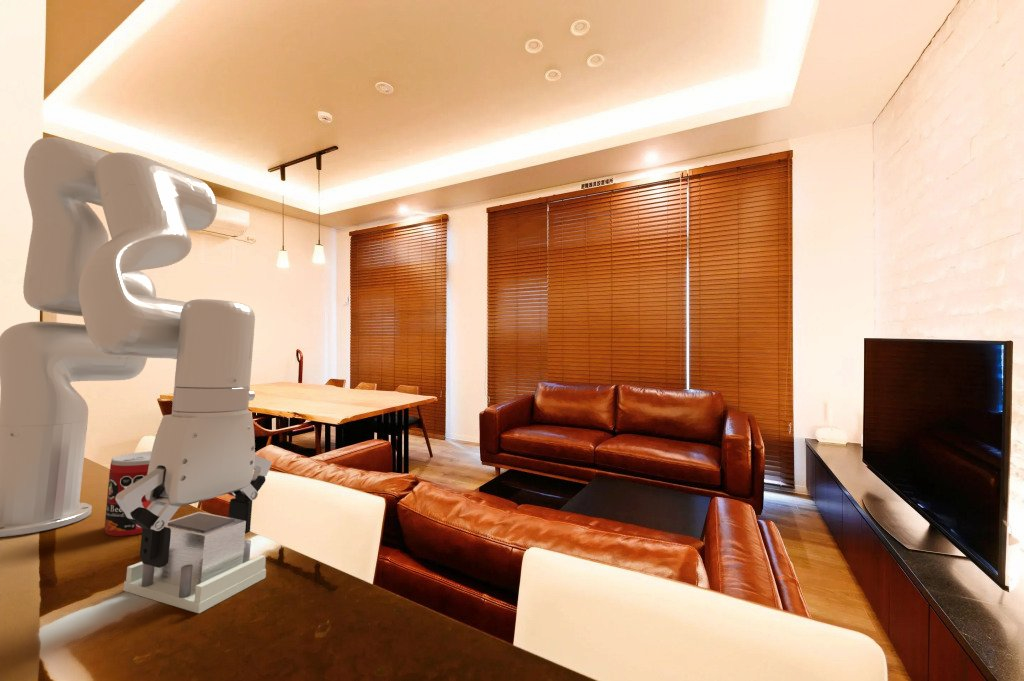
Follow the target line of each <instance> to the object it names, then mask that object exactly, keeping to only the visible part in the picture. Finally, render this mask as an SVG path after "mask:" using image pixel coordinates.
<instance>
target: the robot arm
mask: <svg viewBox="0 0 1024 681" xmlns="http://www.w3.org/2000/svg"><path fill="white" fill-rule="evenodd" d="M23 180H24V188H25V191H26V196H27V200H28V203H29V207H30V211H31V217H32V226H31V228H32V229H31V235H30V239H29V246H28V253H27V257H26V266H25V272H24V277H23V286H22V287H23V299H24V300H25V302H26V304H27V305H29V307H30V308H33V309H35V310H37V311H40V312H45V313H51V314H58V315H64V316H65V315H67V316H73V317H74V316H75V317H82V318H83V322H84V324H80V323H69V322H60V321H59V322H57V321H56V322H54V321H29V322H28V321H27V322H22V323H17V324H15V325H12V326H10V327H8V328H7V329H6V330H5V329H4V331H3V332H2V333H1V335H0V538H2V537H3V538H5V537H14V536H21V535H26V534H33V533H39V532H40V533H41V532H44V531H49V530H53V529H56V528H61V527H64V526H68V525H70V524H74V523H76V522H79V521H81V520H85V518H87V517H89V516H90V515H91V514H92V509H93V506H92V504H90V503H86V502H80V499H81V492H82V491H81V490H82V480H83V469H84V460H85V453H86V452H85V451H86V440H87V430H88V421H89V420H88V419H89V407H88V403H87V402H86V400H85V398H83V396H82V395H81V394H80V392H78V391H77V390H76V389H75V388H74V387H73V386H72V384H71V383H73V382H99V381H100V382H104V381H105V382H109V381H110V382H111V381H126V380H131V379H134V378H136V377H137V376H138V375H140V374H141V373H142V372H143V370H144V368H145V366H146V363H147V361H148V359H171V360H172V359H173V360H176V362H175V363H176V364H175V372H174V383H173V384H174V387H173V396H172V404H171V405H172V407H171V414H165V415H163V416H162V418H161V421H160V423H159V425H158V429H157V431H156V435H155V437H154V442H153V445H152V449H151V451H152V453H151V458H150V462H149V468H148V474H147V475H146V476H145V477H143V478H141V479H140V480H138V481H137V482H135V483H134V484H132V485H130V486H129V487H127V488H126V489H124V490H123V491H121V492H119V493H118V494H117V495H116V498H115V499H116V501H117V503H118V505H119V506H120V508H121V510H122V511H123V512H124V516H125V517H126V518H127V519H129V520H130V521H132V522H133V523H135V524H136V525H137V526H138V527H141V528H142V534H141V538H140V549H139V557H140V560H141V562H142V563H143V564H147V565H150V566H154V567H158V568H160V567H163V566H165V565H166V564H167V563H168V560H169V548H170V537H171V529H170V528H168V527H165V525H166V524H167V523H168V521H169V520H170V519H171V518H172V519H173V517H172V516H174V515H175V514H176V512H178V510H179V508H180V507H184V506H188V505H193V504H196V503H200V502H203V501H206V500H211V499H214V498H218V497H221V496H225V495H227V494H230V493H231V494H232V495H233V496H234V498H231V499H229V500H230V501H229V504H228V516H227V517H229V518H234V519H240V520H245V521H246V527H245V535H246V534H247V533H251V532H250V531H251V523H252V512H253V511H252V510H253V501H255V500H256V499H257V498H258V495H259V491H260V489H261V488H262V486H263V485H264V484H265V482H266V477H267V475H268V473H269V471H270V469H271V467H272V463H273V462H272V460H269V459H267V458H263V457H261V456H259V455H257V454H256V449H255V448H256V442H255V440H256V438H255V427H254V419H253V414H252V411H251V410H249V404H250V401H251V402H252V401H253V400H255V398H256V397H255V396H256V394H255V392H254V391H253V390H250V389H251V388H250V386H251V375H252V365H253V364H252V363H253V350H254V349H253V348H254V339H255V338H254V337H255V324H256V316H255V315H256V314H255V312H254V309H252V308H251V306H249V305H246V304H245V303H240V302H236V301H231V300H223V299H222V300H221V299H213V298H211V299H208V298H202V299H201V298H200V299H198V298H197V299H191V300H189V301H181V300H176V299H175V300H174V299H169V298H168V299H167V298H163V297H157V292H156V291H157V290H156V288H155V284H154V281H153V280H152V279H151V278H150V276H148V274H146V273H144V272H143V271H146V270H152V269H158V268H164V267H168V266H172V265H174V264H177V263H178V262H181V261H183V260H184V259H185V258H186V257H187V256H188V255H189V254H190V253H191V251H192V250H191V249H192V245H193V244H192V238H191V236H190V233H189V231H193V232H194V231H195V232H196V231H203V230H205V229H207V228H209V227H210V226H211V225H212V224H213V223H214V221H215V219H216V216H217V212H218V203H217V199H216V196H215V193H214V192H213V190H212V189H211V187H210V186H209V185H208V184H207V183H206V182H204V181H203V180H202V179H200V178H198V177H195V176H193V175H190V174H189V173H185V172H183V171H180V170H178V169H176V168H173V167H170V166H168V165H166V164H163V163H160V162H158V161H156V160H153V159H150V158H148V157H145V156H142V155H139V154H135V153H131V152H113V153H110V152H107V151H104V150H102V149H98V148H96V147H94V146H91V145H87V144H85V143H81V142H79V141H75V140H71V139H66V138H64V137H63V138H62V137H55V136H54V137H53V136H51V137H48V136H47V137H42V138H39V139H37V140H36V141H35V142H33V143H32V145H31V146H30V148H29V149H28V151H27V154H26V156H25V161H24V167H23ZM88 203H89V204H93V205H95V206H100V207H102V209H103V213H104V216H105V220H106V225H107V227H108V231H109V233H108V231H107V229H106V227H105V225H104V223H103V222H102V220H101V218H100V217H99V216H98V214H97V213H96V212H95V211H94V210H93V208H91V206H90V205H89V204H88ZM109 235H110V237H111V239H110V240H109ZM144 495H145V497H146V500H148V501H150V502H152V503H151V504H150V505H149V506H148V507H147V509H146V508H144V507H143V505H142V501H141V499H142V497H143V496H144ZM172 519H171V520H172Z"/></svg>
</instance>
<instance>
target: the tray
mask: <svg viewBox="0 0 1024 681" xmlns="http://www.w3.org/2000/svg"><path fill="white" fill-rule="evenodd" d="M251 543H252V541H251V539H246V540H245V541H244V554H243V564H241V565H239V566H236V567H234V568H232V569H230V570H228V571H226V572H224V573H222V574H219V575H217V576H215V577H213V578H211V579H209V580H207V581H205V582H203V583H200V584H198V585H196V590H195V591H194V590H191V581H192V569H193V565H185V566H183V567H181V576H180V587H179V586H176V585H172V584H168V583H165V582H161V581H157V580H154V579H153V578H154V566H150V565H147V564H143V563H142V561H139V562H137V563H135V564H132V565H128V566H127V567H126V575H125V576H126V579H125V580H124V582H123V591H124V592H126V593H130V594H132V595H137V596H141V597H142V598H146V599H150V600H152V601H157V602H160V603H162V604H166V605H170V606H173V607H176V608H179V609H183V610H186V611H189V612H193V613H196V614H201V613H202V612H204V611H206V610H208V609H211V607H215V605H218V604H219V603H221V602H223V601H225V600H227V599H228V598H231V597H232V596H234V595H237V594H238V593H240V592H242V591H243V590H246V589H247V588H249V587H252V586H253V585H255V584H256V583H258V582H261V581H262V580H264V579H265V578H267V577H266V576H267V569H266V561H267V560H266V559H267V556H266V555H262V554H259V555H258V556H256V557H254V558H251V559H250V557H251V547H252V546H251V545H252V544H251Z"/></svg>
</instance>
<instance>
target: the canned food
mask: <svg viewBox="0 0 1024 681" xmlns="http://www.w3.org/2000/svg"><path fill="white" fill-rule="evenodd" d="M151 453H152V450H151V451H141V452H133V453H132V452H131V453H126V454H121V455H117V456H115V457H112V458H111V462H110V467H109V472H108V473H109V475H108V486H107V498H106V507H105V518H104V531H105V533H106V534H107V535H108V536H112V537H127V536H135V535H142V528H141V527H138V526H137V525H136V524H135V523H133V522H132V521H130V520H129V519H127V518H126V517H125V516H124V512H123V511H122V510H121V508H120V506H119V505H118V503H117V501H116V499H115V498H116V495H117V494H118V493H119V492H121V491H123V490H124V489H126V488H127V487H129V486H130V485H132V484H134V483H135V482H137V481H138V480H140V479H141V478H143V477H145V476H146V475H147V474H148V468H149V462H150V458H151ZM141 501H142V505H143V507H144V508H146V509H147V507H148V506H149V505H150V504H151V503H152V502H150V501H148V500H146V497H145V495H144V496H143V497H142V499H141ZM173 516H174V515H173ZM173 516H172V518H171V519H170V520H169V521H171V520H173Z"/></svg>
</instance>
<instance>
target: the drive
mask: <svg viewBox="0 0 1024 681" xmlns="http://www.w3.org/2000/svg"><path fill="white" fill-rule="evenodd" d="M165 527H168V528H170V529H171V537H170V548H169V560H168V563H167V564H166V565H165V566H163V567H160V568H158V567H154V578H153V579H154V580H157V581H161V582H165V583H168V584H172V585H176V586H179V587H180V576H181V567H183V566H185V565H193V569H192V581H191V590H194V591H195V590H196V585H198V584H200V583H203V582H205V581H207V580H209V579H211V578H213V577H215V576H217V575H219V574H222V573H224V572H226V571H228V570H230V569H232V568H234V567H236V566H239V565H241V564H243V554H244V541H245V539H246V538H245V536H246V534H245V527H246V521H245V520H240V519H234V518H229V517H228V516H224V515H223V516H222V515H217V514H212V513H208V512H203V511H197V512H193V513H191V514H190V513H189V514H187V515H184V516H182V517H178V518H175V519H171V521H168V523H167V524H166V525H165Z"/></svg>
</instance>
